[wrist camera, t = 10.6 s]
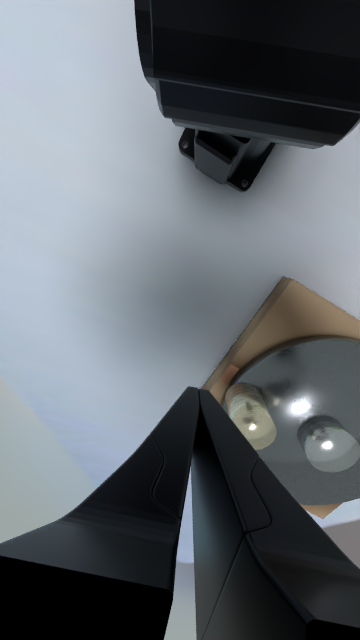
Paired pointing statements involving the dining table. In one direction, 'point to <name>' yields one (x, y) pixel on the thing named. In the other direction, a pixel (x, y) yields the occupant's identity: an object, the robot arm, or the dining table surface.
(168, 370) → the dining table surface
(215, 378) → the wheel base
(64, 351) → the dining table surface
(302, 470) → the handwheel
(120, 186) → the dining table surface
